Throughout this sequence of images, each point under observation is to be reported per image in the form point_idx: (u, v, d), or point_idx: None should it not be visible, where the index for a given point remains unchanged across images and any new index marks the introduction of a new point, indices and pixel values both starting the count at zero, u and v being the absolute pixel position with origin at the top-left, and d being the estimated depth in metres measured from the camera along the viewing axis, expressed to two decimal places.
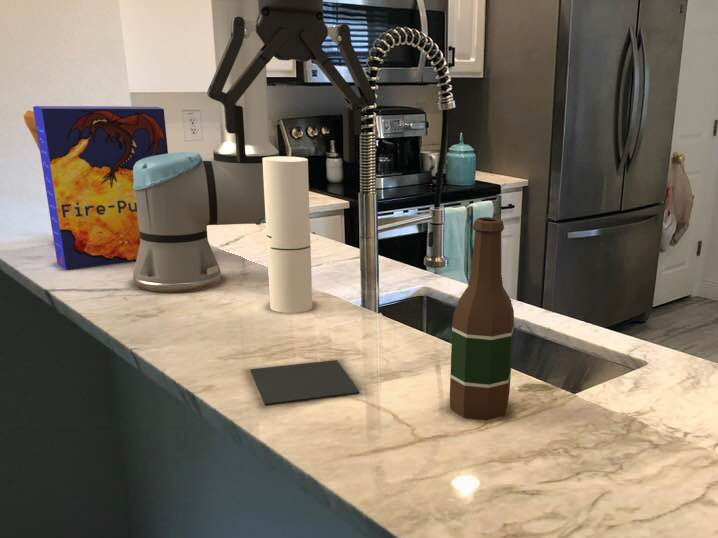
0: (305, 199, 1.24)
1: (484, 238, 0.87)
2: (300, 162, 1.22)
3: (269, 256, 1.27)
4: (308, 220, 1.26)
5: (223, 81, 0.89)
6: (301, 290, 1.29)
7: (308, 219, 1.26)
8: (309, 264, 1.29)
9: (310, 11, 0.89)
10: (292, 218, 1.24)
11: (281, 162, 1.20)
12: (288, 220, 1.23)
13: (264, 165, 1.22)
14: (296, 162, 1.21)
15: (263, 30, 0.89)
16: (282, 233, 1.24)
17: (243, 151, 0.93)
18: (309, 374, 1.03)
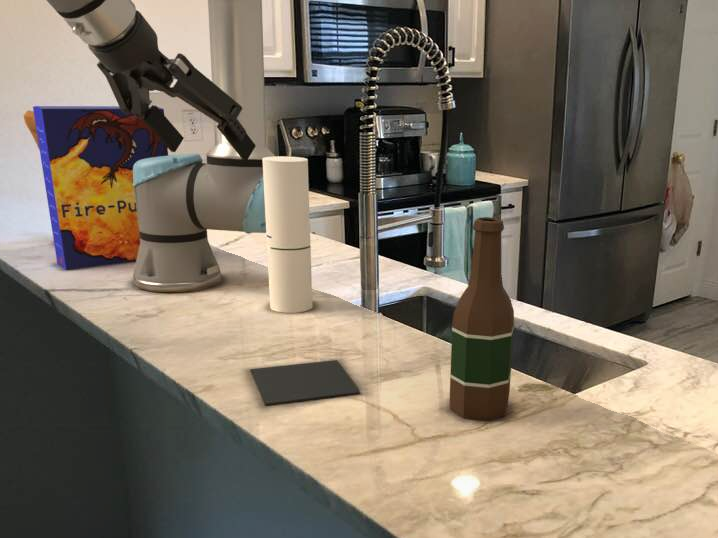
0: (305, 199, 1.24)
1: (484, 238, 0.87)
2: (300, 162, 1.22)
3: (269, 256, 1.27)
4: (308, 220, 1.26)
5: (123, 103, 1.04)
6: (301, 290, 1.29)
7: (308, 219, 1.26)
8: (309, 264, 1.29)
9: (130, 70, 0.93)
10: (292, 218, 1.24)
11: (281, 162, 1.20)
12: (288, 220, 1.23)
13: (264, 165, 1.22)
14: (296, 162, 1.21)
15: None
16: (282, 233, 1.24)
17: (168, 145, 1.10)
18: (309, 374, 1.03)
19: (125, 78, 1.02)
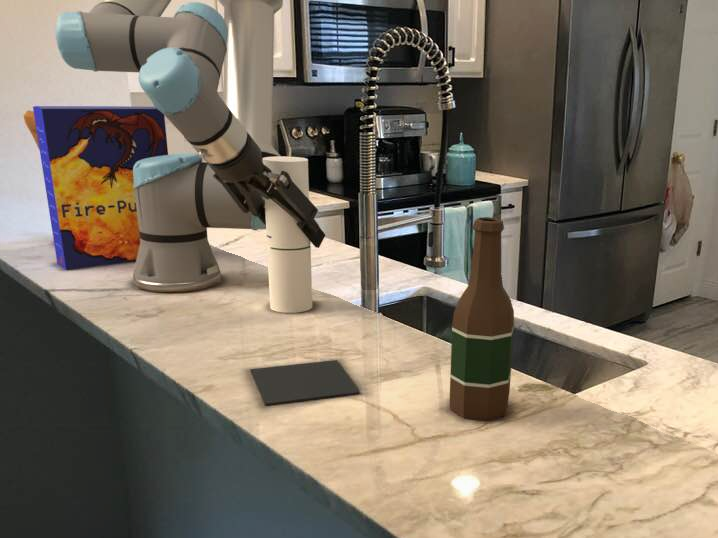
0: None
1: (484, 238, 0.87)
2: (300, 162, 1.22)
3: (269, 256, 1.27)
4: None
5: (241, 205, 1.25)
6: (301, 290, 1.29)
7: None
8: (309, 264, 1.29)
9: (240, 180, 1.13)
10: (292, 218, 1.24)
11: (281, 162, 1.20)
12: (289, 220, 1.23)
13: None
14: (296, 162, 1.21)
15: None
16: (282, 233, 1.24)
17: None
18: (309, 374, 1.03)
19: None
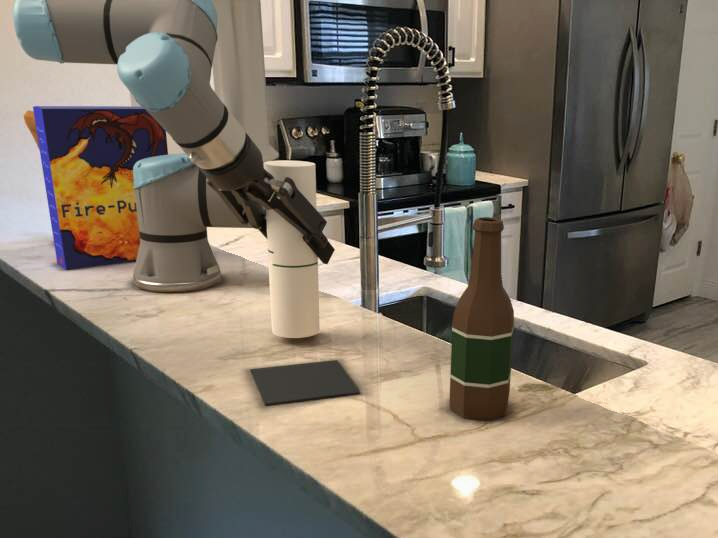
0: None
1: (484, 238, 0.87)
2: (307, 167, 1.06)
3: (271, 274, 1.11)
4: None
5: (239, 215, 1.10)
6: (308, 312, 1.13)
7: None
8: (316, 283, 1.13)
9: (237, 188, 0.98)
10: (298, 231, 1.08)
11: (285, 167, 1.05)
12: (293, 233, 1.08)
13: None
14: (302, 167, 1.06)
15: None
16: (286, 248, 1.09)
17: None
18: (309, 374, 1.03)
19: None
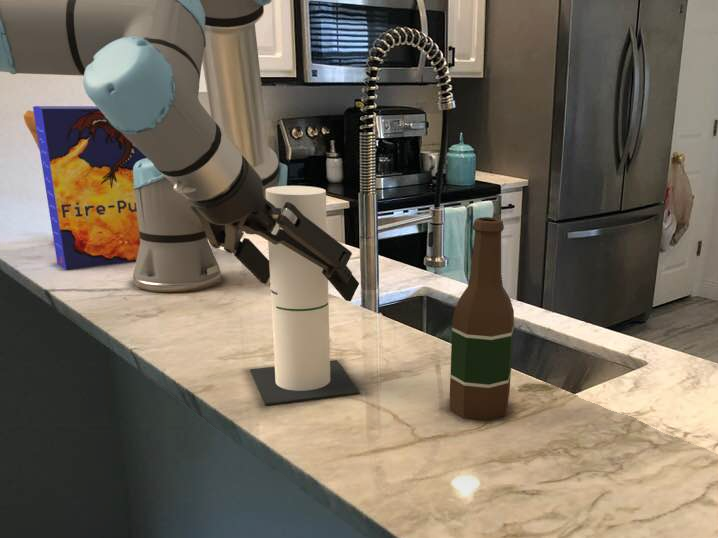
0: None
1: (484, 238, 0.87)
2: (316, 195, 0.91)
3: (274, 318, 0.96)
4: None
5: (214, 240, 0.93)
6: (317, 361, 0.98)
7: None
8: (327, 327, 0.98)
9: None
10: (306, 269, 0.93)
11: (291, 196, 0.89)
12: (300, 272, 0.93)
13: (268, 199, 0.91)
14: (311, 195, 0.90)
15: None
16: (292, 289, 0.93)
17: (259, 278, 0.99)
18: None
19: None
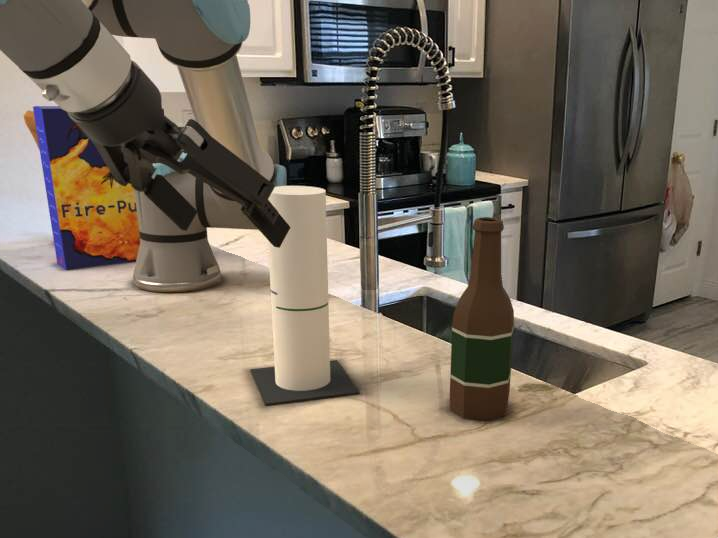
0: (322, 243, 0.93)
1: (484, 238, 0.87)
2: (316, 195, 0.91)
3: (274, 318, 0.96)
4: (326, 270, 0.96)
5: (118, 174, 0.80)
6: (317, 361, 0.98)
7: (326, 269, 0.96)
8: (327, 327, 0.98)
9: (124, 142, 0.68)
10: (305, 269, 0.93)
11: (290, 196, 0.89)
12: (300, 272, 0.93)
13: (268, 199, 0.91)
14: (311, 195, 0.90)
15: None
16: (292, 289, 0.93)
17: (177, 223, 0.86)
18: None
19: None
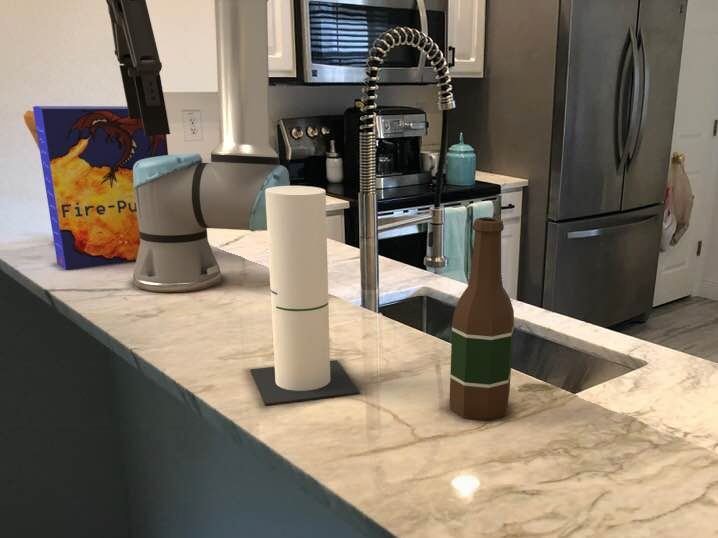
0: (322, 243, 0.93)
1: (484, 238, 0.87)
2: (316, 195, 0.91)
3: (274, 318, 0.96)
4: (326, 270, 0.96)
5: (114, 40, 0.96)
6: (317, 361, 0.98)
7: (326, 269, 0.96)
8: (327, 327, 0.98)
9: None
10: (305, 269, 0.93)
11: (290, 196, 0.89)
12: (300, 272, 0.93)
13: (267, 199, 0.91)
14: (311, 195, 0.90)
15: None
16: (292, 289, 0.93)
17: (128, 108, 0.98)
18: None
19: None
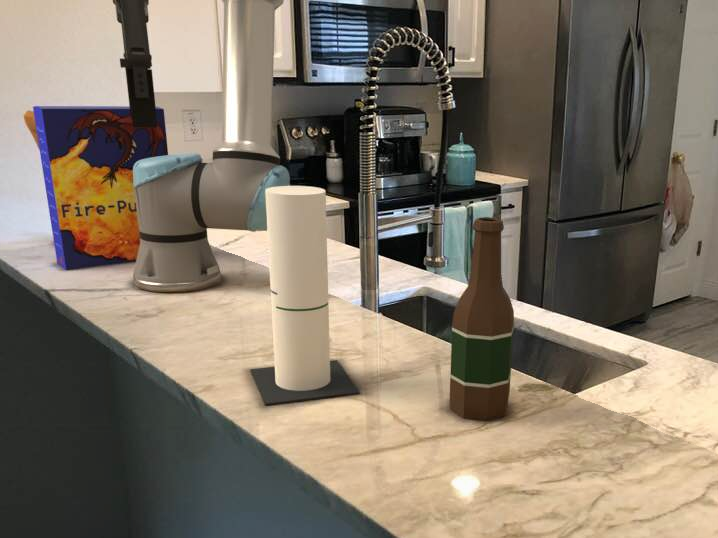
0: (322, 243, 0.93)
1: (484, 238, 0.87)
2: (316, 195, 0.91)
3: (274, 318, 0.96)
4: (326, 270, 0.96)
5: (123, 43, 1.00)
6: (317, 361, 0.98)
7: (326, 269, 0.96)
8: (327, 327, 0.98)
9: None
10: (305, 269, 0.93)
11: (290, 196, 0.89)
12: (300, 272, 0.93)
13: (267, 199, 0.91)
14: (311, 195, 0.90)
15: None
16: (292, 289, 0.93)
17: None
18: None
19: None
